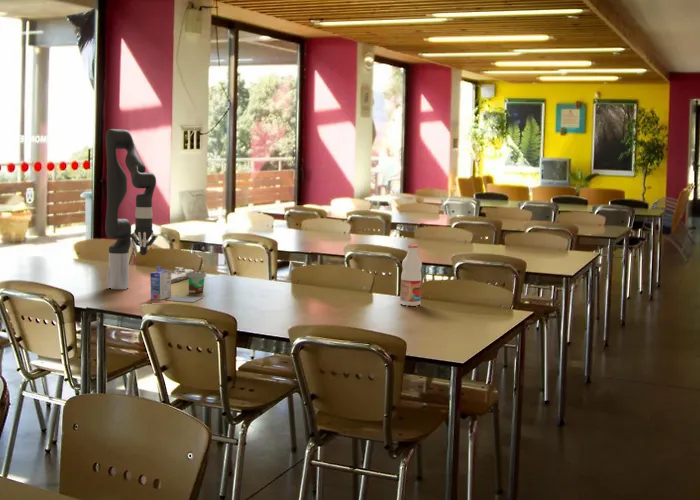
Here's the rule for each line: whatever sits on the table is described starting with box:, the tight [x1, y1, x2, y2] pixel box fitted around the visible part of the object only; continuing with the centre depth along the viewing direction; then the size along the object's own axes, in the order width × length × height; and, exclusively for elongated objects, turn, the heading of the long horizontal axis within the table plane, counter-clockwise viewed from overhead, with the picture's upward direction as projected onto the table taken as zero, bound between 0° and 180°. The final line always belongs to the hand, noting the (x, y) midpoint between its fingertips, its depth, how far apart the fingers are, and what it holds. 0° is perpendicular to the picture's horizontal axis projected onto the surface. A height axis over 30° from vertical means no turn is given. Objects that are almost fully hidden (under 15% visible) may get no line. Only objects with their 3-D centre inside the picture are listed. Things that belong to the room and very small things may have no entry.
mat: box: [165, 295, 204, 303], centre depth 409 cm, size 13×13×1 cm
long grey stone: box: [171, 266, 195, 284], centre depth 468 cm, size 35×5×10 cm
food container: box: [187, 269, 207, 295], centre depth 427 cm, size 12×6×10 cm, turn 168°
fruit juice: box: [399, 243, 423, 305], centre depth 415 cm, size 9×9×28 cm
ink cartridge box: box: [149, 265, 172, 301], centre depth 409 cm, size 10×6×14 cm, turn 161°
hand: (143, 255), depth 409 cm, fingers closed
